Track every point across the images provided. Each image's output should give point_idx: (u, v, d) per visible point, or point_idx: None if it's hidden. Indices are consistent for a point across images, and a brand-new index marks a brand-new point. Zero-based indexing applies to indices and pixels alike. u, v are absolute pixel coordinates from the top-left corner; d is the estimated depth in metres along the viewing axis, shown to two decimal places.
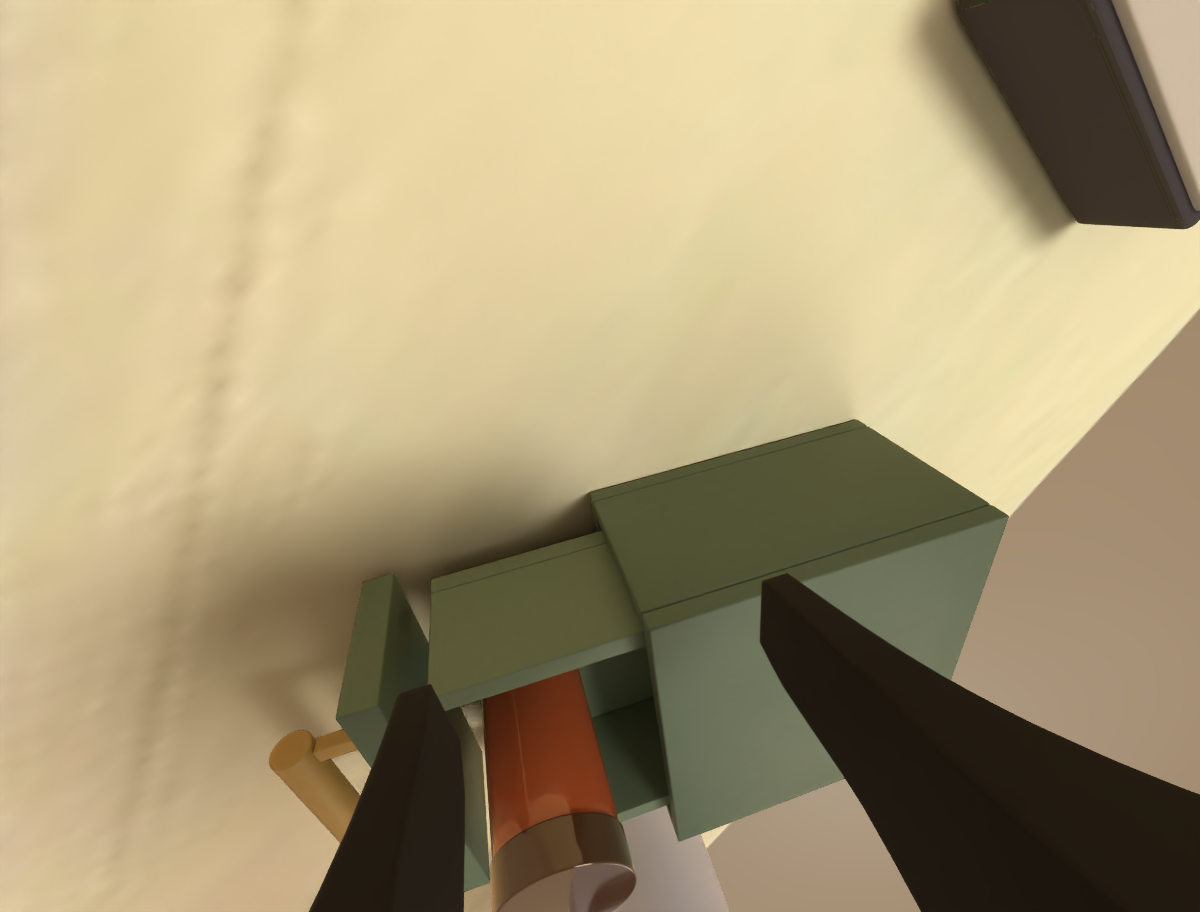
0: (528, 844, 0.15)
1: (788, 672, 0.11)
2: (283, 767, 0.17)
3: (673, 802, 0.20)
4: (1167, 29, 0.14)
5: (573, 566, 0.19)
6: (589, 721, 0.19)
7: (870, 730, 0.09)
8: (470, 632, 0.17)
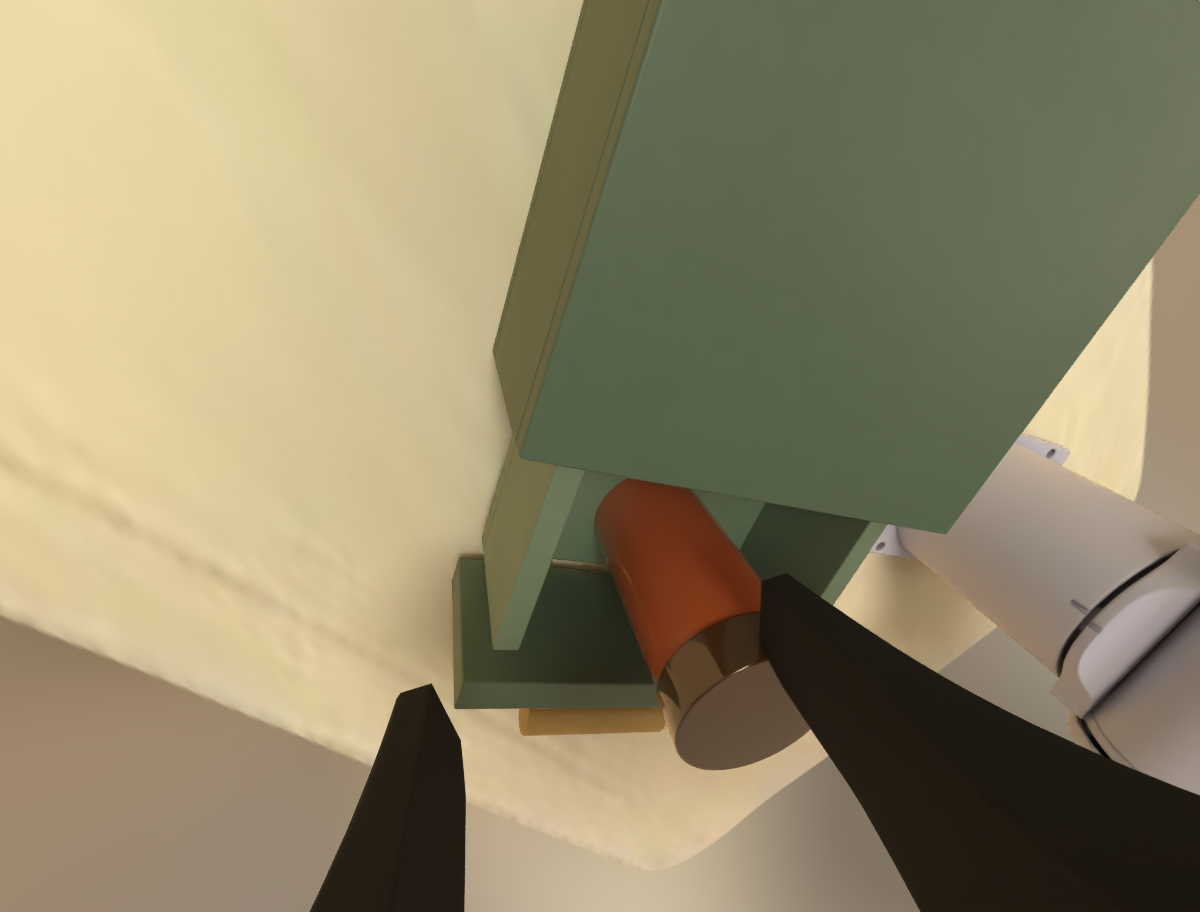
0: (662, 699, 0.13)
1: (787, 672, 0.11)
2: (525, 730, 0.19)
3: (866, 519, 0.15)
4: None
5: None
6: (688, 531, 0.16)
7: (869, 730, 0.09)
8: (498, 565, 0.16)
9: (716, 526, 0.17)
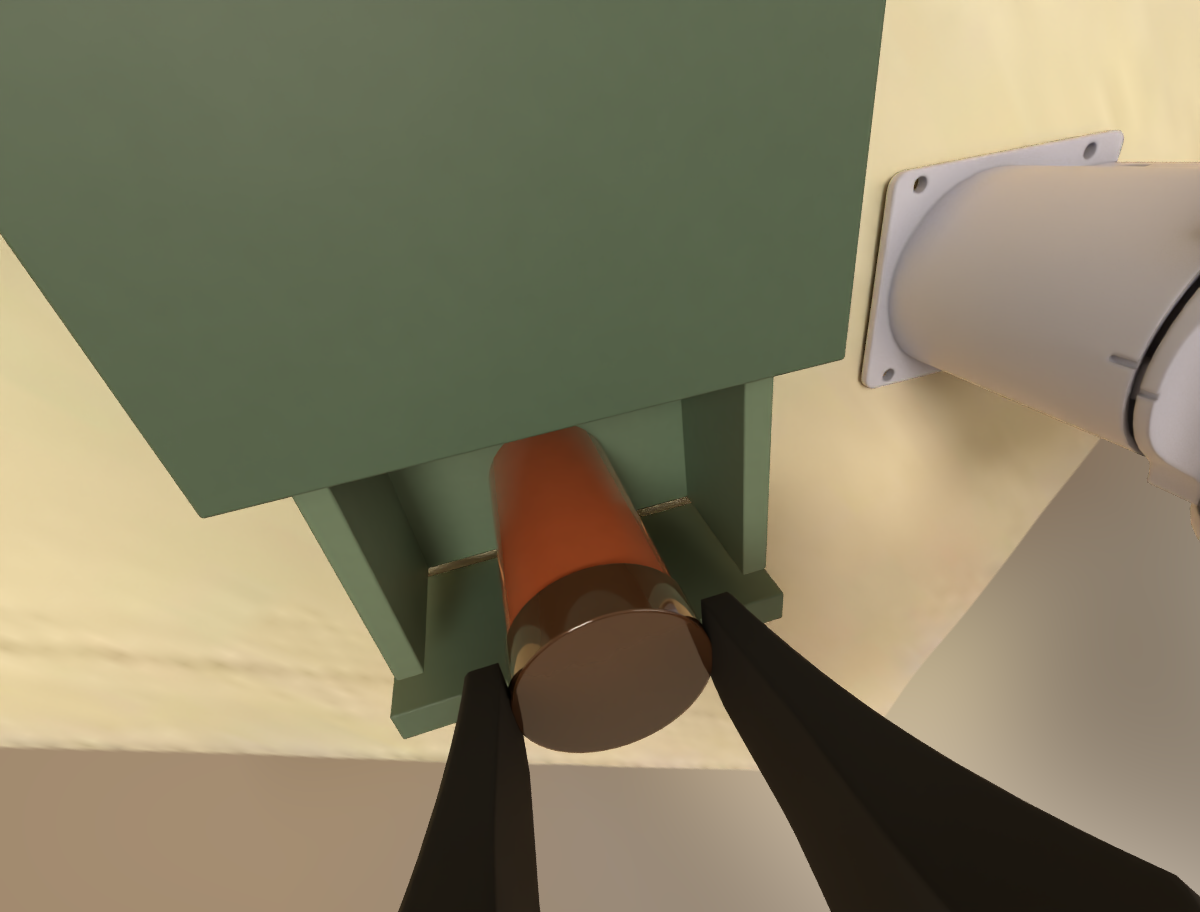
0: None
1: (726, 693, 0.11)
2: None
3: (702, 393, 0.11)
4: None
5: None
6: (532, 494, 0.14)
7: (794, 758, 0.08)
8: None
9: (574, 471, 0.14)
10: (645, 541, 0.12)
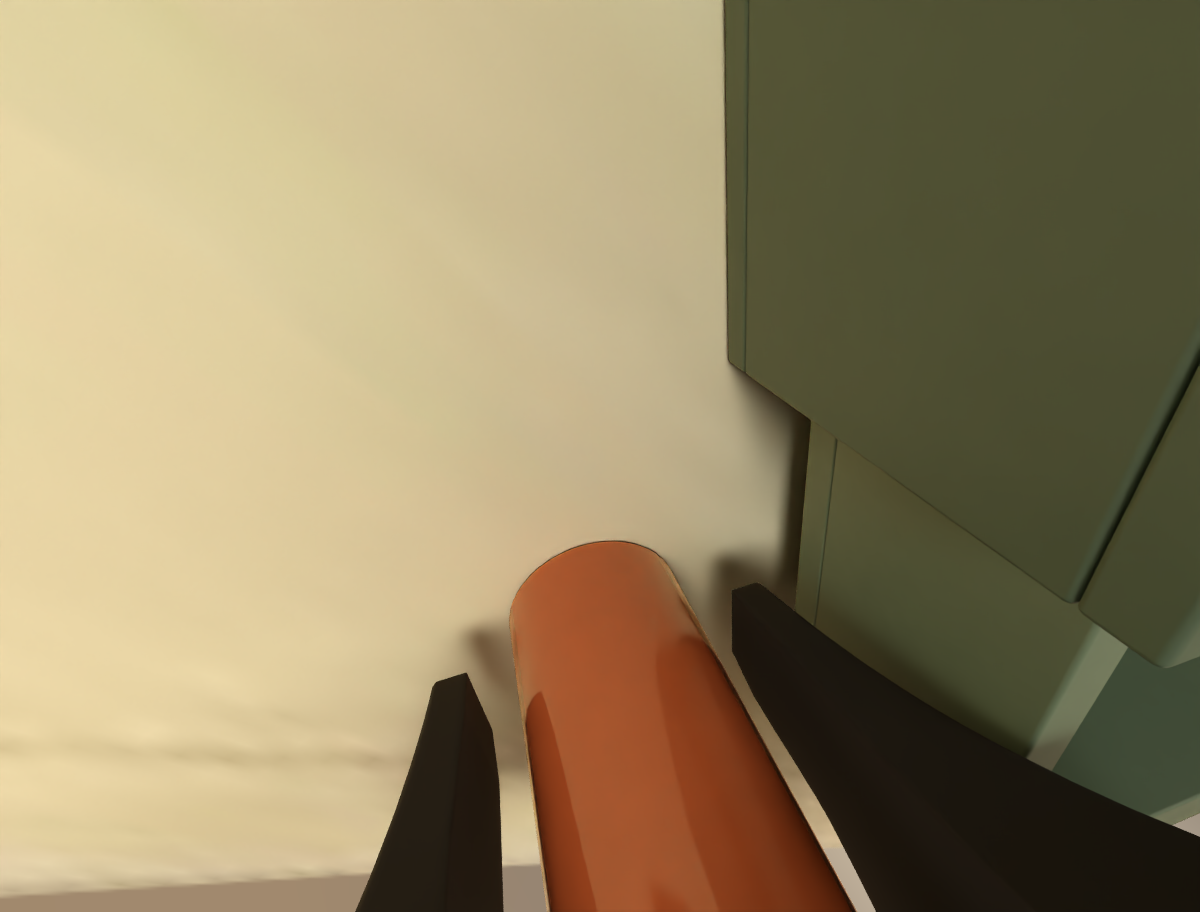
0: None
1: (757, 682, 0.11)
2: None
3: None
4: None
5: (859, 491, 0.09)
6: (589, 702, 0.08)
7: (833, 744, 0.08)
8: None
9: (652, 654, 0.09)
10: (792, 815, 0.07)
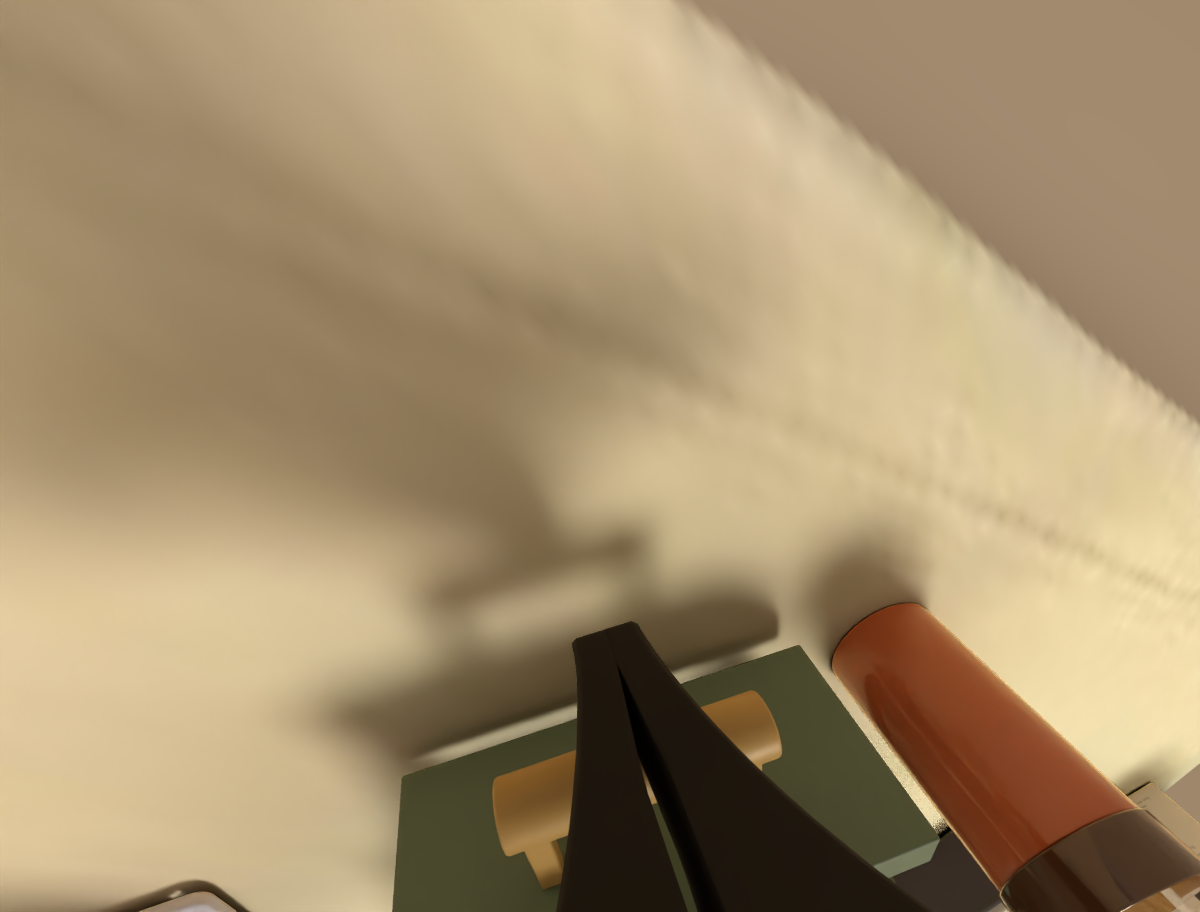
0: None
1: None
2: (780, 746, 0.11)
3: None
4: None
5: None
6: None
7: (672, 803, 0.08)
8: None
9: None
10: None
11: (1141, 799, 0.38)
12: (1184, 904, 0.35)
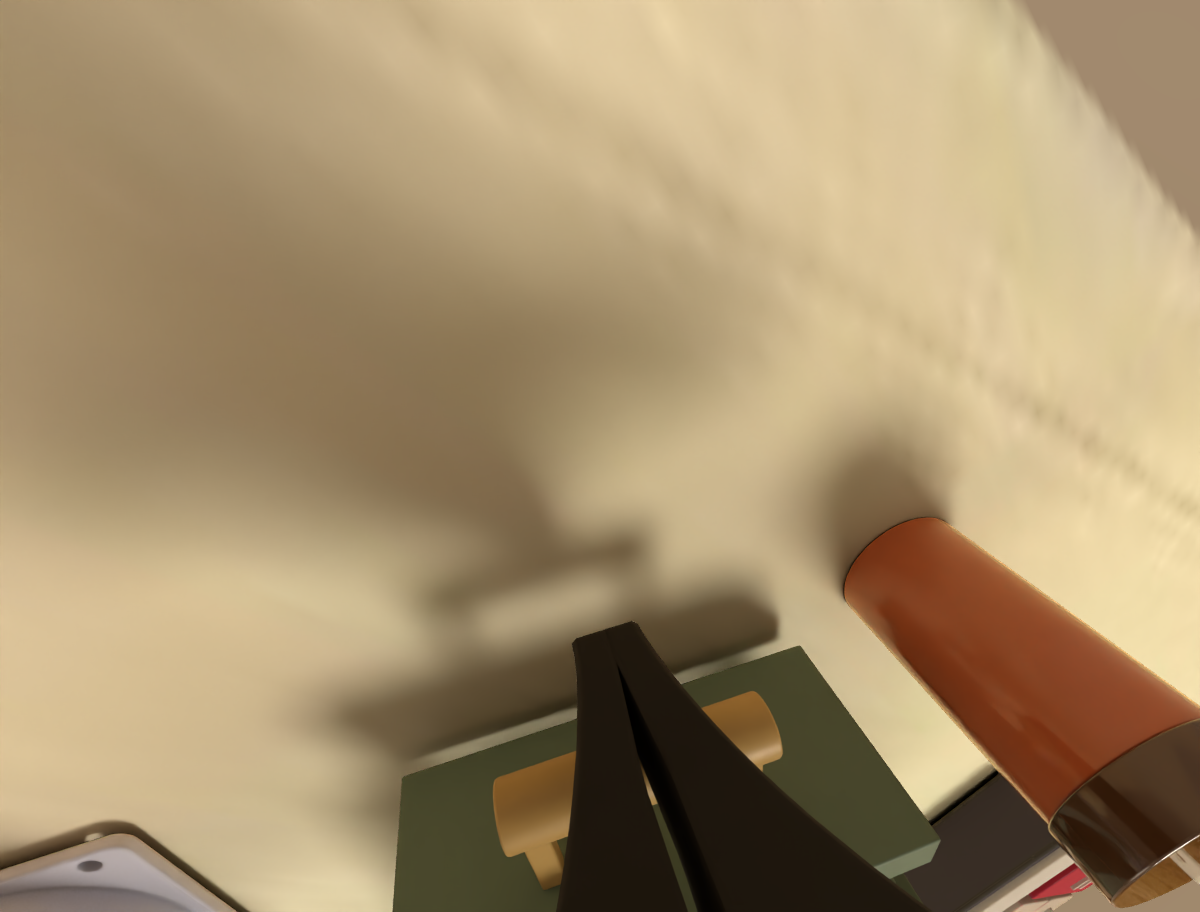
0: None
1: None
2: (781, 748, 0.11)
3: None
4: (1030, 882, 0.27)
5: None
6: None
7: (672, 803, 0.08)
8: None
9: None
10: (1005, 778, 0.13)
11: None
12: None
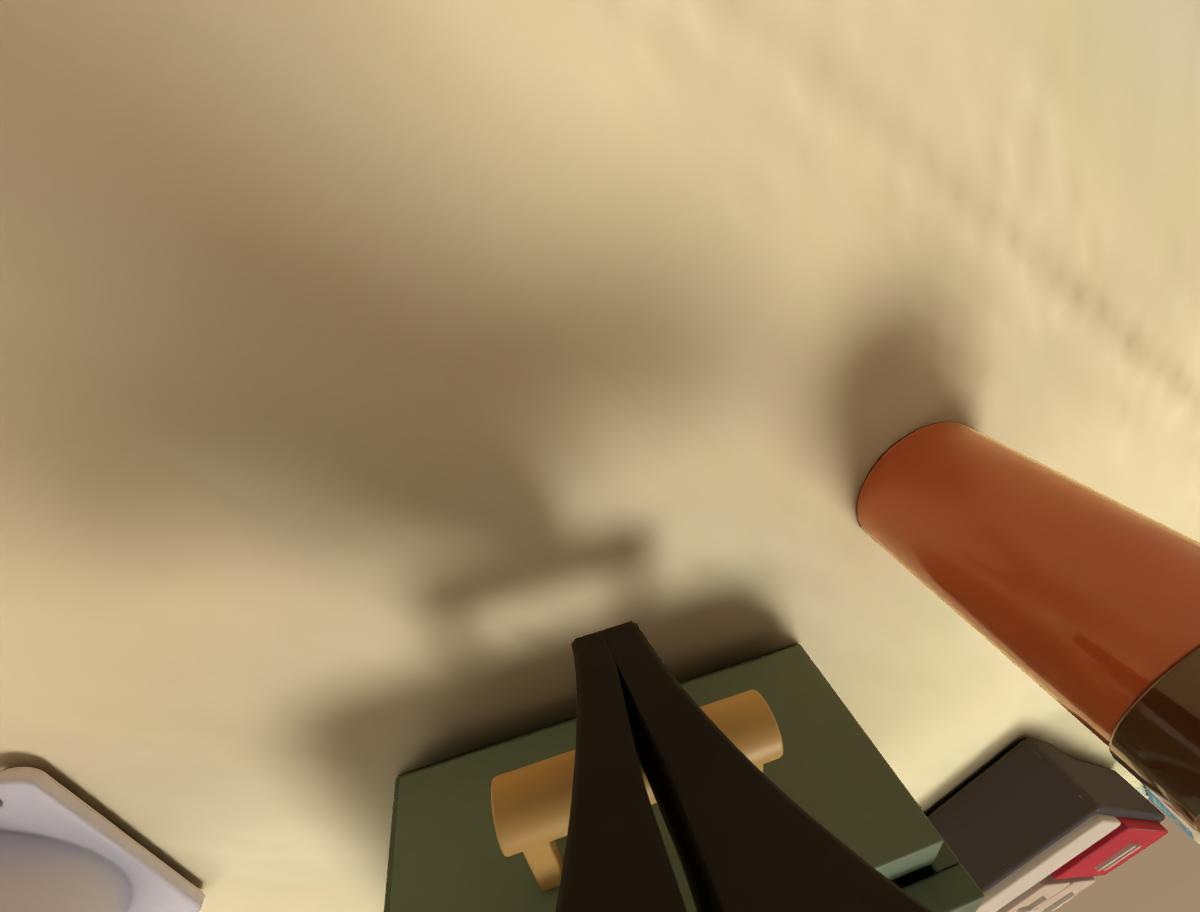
0: None
1: (630, 726, 0.10)
2: (782, 746, 0.11)
3: None
4: (1055, 859, 0.25)
5: None
6: None
7: (672, 803, 0.08)
8: None
9: None
10: (1052, 696, 0.11)
11: None
12: None
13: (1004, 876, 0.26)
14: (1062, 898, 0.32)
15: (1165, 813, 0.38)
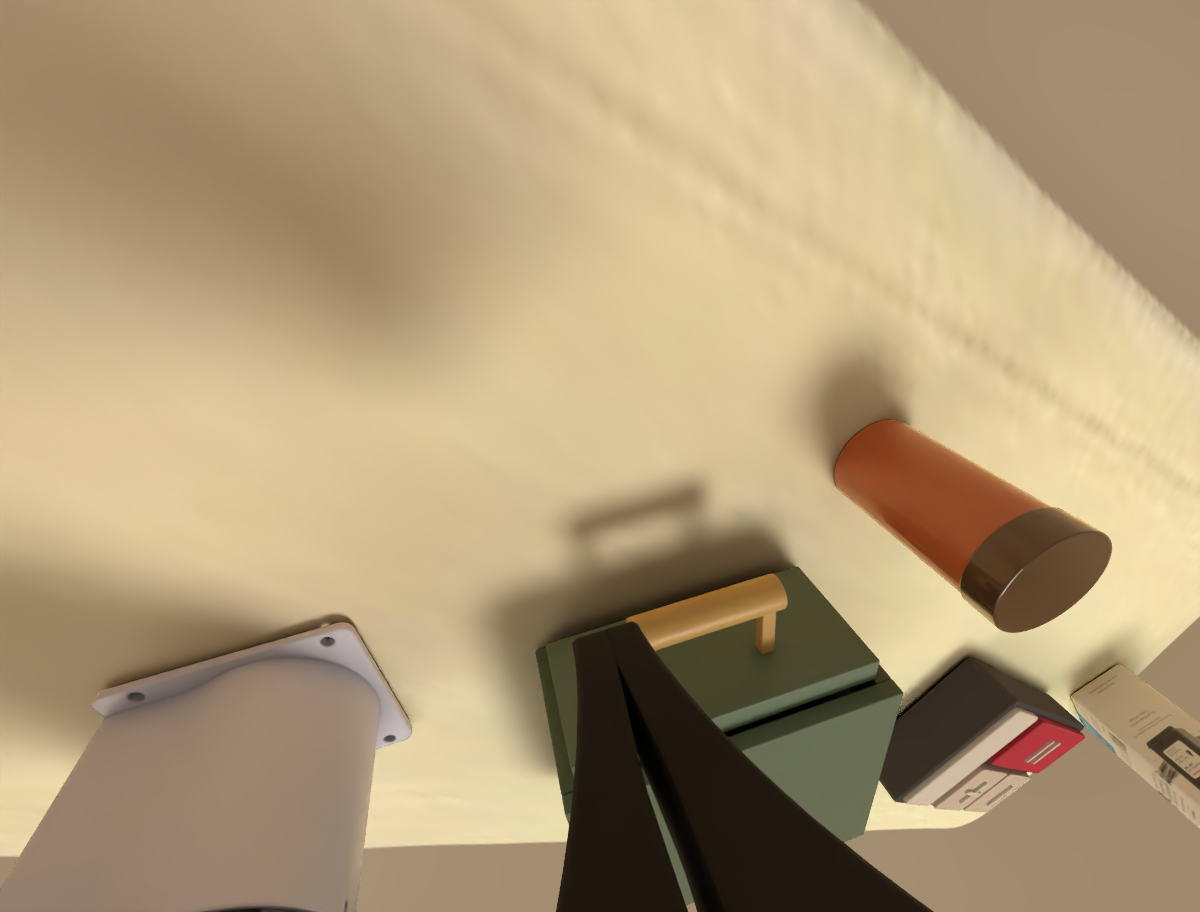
0: None
1: None
2: (787, 600, 0.19)
3: None
4: (987, 742, 0.34)
5: None
6: None
7: (672, 803, 0.08)
8: None
9: None
10: (938, 573, 0.20)
11: (1109, 678, 0.43)
12: (1145, 759, 0.39)
13: (950, 757, 0.34)
14: (1003, 790, 0.40)
15: (1095, 735, 0.47)
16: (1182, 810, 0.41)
